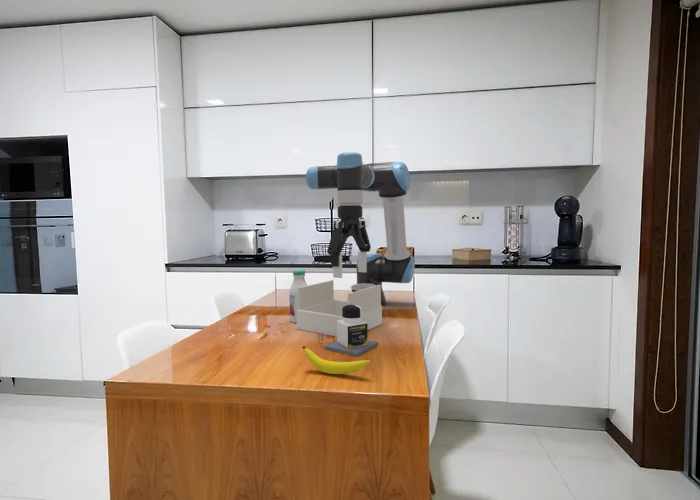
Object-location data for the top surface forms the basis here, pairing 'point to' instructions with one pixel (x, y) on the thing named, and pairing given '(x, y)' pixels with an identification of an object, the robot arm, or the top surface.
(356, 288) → the plastic cup
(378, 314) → the carton
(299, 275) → the milk bottle
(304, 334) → the top surface
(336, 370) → the banana
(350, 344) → the medicine bottle
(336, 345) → the mat
